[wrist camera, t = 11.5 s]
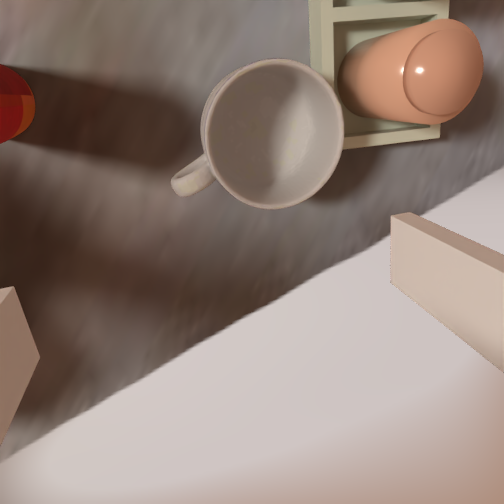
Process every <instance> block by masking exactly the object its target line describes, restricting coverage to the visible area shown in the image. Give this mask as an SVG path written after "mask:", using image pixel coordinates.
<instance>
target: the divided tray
mask: <svg viewBox="0 0 504 504" xmlns="http://www.w3.org/2000/svg"><path fill="white" fill-rule="evenodd" d="M449 3H450V0H308V5H309V34H310V63H311V68H312V69H314V70H315V71H317V72H318V73H319V74H320V75H322V76H323V77H324V78H325V79H326V80H327V82H328V83H329V84H330V85H331V87H332V88H333V90H334V92H335V94H336V95H337V98H338V100H339V102H340V104H341V108H342V112H343V119H344V142H343V149H351V148H360V147H368V146H376V145H384V144H393V143H401V142H409V141H417V140H426V139H434V138H440V125H441V123H440V124H433V125H428V124H419V123H410V122H401V121H392V120H382V119H373V118H364V117H360V116H357V115H355V114H353V113H352V112H350V111H349V110H348V109H347V108H346V107H345V106H344V104H343V102H342V101H341V98H340V96H339V93H338V87H337V77H338V71H339V68H340V65H341V62H342V60H343V59H344V57H345V55H346V54H347V53H348V52H349V50H350V49H351V48H353V47H354V46H355V45H356V44H358V43H359V42H362V41H364V40H367V39H370V38H374V37H377V36H381V35H384V34H388V33H391V32H395V31H398V30H402V29H405V28H409V27H412V26H415V25H419V24H422V23H426V22H429V21H433V20H437V19H448V16H449ZM343 149H342V150H343Z"/></svg>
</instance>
